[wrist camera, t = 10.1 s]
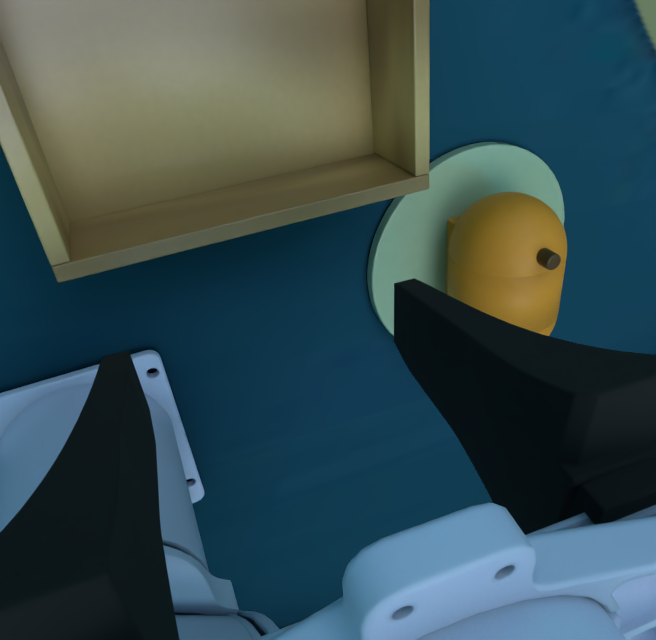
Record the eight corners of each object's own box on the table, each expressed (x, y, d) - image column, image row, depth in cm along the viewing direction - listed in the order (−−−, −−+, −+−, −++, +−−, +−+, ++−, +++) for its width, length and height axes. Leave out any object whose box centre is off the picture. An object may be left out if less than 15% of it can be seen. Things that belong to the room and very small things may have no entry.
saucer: (544, 314, 33) (551, 319, 33) (372, 372, 30) (377, 378, 30) (570, 120, 27) (579, 122, 27) (358, 169, 24) (364, 174, 24)
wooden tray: (382, 161, 24) (430, 189, 21) (58, 236, 21) (58, 283, 18) (363, -250, 17) (430, -299, 14) (-129, -237, 14) (-184, -299, 11)
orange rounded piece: (509, 310, 31) (582, 366, 27) (427, 337, 30) (491, 401, 25) (522, 167, 27) (613, 205, 22) (427, 191, 25) (504, 236, 21)
